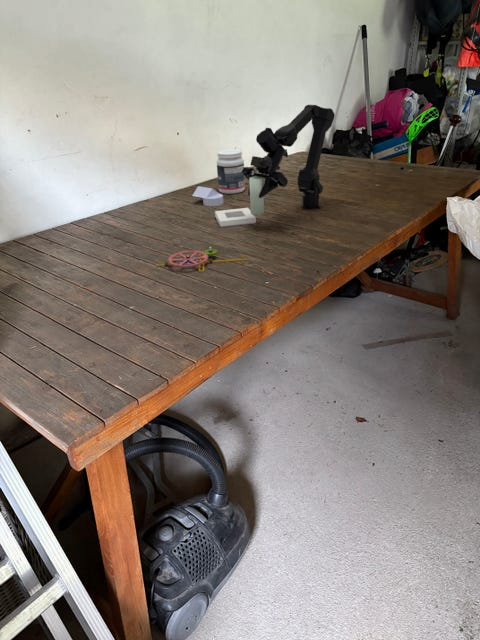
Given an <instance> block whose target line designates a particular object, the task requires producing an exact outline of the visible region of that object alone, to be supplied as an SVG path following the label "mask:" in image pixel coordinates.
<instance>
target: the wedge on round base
mask: <svg viewBox="0 0 480 640" xmlns="http://www.w3.org/2000/svg"><path fill="white" fill-rule="evenodd" d="M192 197H197V198H202V202H203V206H205V207H218V206H222V205H223V204H224V195H223V193H220V192H219V191H217V190H215V189H214V188H212V187H207V186H201V185H200V186H197V187H196V189H195V190H194V192H193V194H192Z"/></svg>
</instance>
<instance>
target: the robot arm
mask: <svg viewBox="0 0 480 640" xmlns="http://www.w3.org/2000/svg"><path fill="white" fill-rule="evenodd" d="M335 117H336V116H335V112H334V110H333V108H329V107H328V108H327V107H322V106H319V105H317V104H307V105H305V106H304V108H303V109H302V110H301V111H300V112H299V113H298V114H297V115H296V117H294V118H293V119H292V120H291V121H290V122H289V124H286V125H283V126H281V127H280V128H278V129H277V130H275V132H274V131H273V130H272V128H271V127H265V128H264V130H262V131H260V132H259V133H258V134H257V135H256V138H255V139H256V140H255V141H256V143H257V144H258V146H260V148H261V149H262V150H263V152H264V153H267V154H266V156H264V157H261V156H256V155H253V156H251V161H250V166H254V167H255V169H256V170H255V169H254V167H249V166H244V168H243V170H242V172H241V173H242V174H243V175H244V177H245V178H246V179H247V180H248V181H249V178H251V177H263V180H264V183H263V188H262V190H261V192H260V194H259V198H262V197H263V196H264V197H265V196H266V195H267V194H268V193H270V192H271V191H273V190H275V189H276V188H279V187H283V188H286V187H287V184H288V183H289V181H288V178H287V176H285V174H284V173H283V172H282V171H281V172H280V171H279V170H280V169H281V167H280V164H281V162H282V160H283V158H284V157H285V158H288V157H289V154H288V149H286V148H284V147H289V148H290V147H292V146H293V145H294V144H295V142H297V139H298V135H299V133H301V131H302V130H303V129H304V128H305V127H306V126H307V125H308V124H309V123H310V122H311V125H312V129H313V133H312V136H311V141H310V145H309V149H308V154H307V159H306V164H305V166H304V168H303V169H300V170H299V171H298V175H297V176H298V177H297V178H296V180H297V188H298V191H299V192H300V193H302V195H301V198H300V200H301V201H300V203H301V204H300V205H301V207H303V208H304V209H305V210H312V209H319V208H321V205H319V204H320V195H321V194H322V193H323V189H324V187H323V185H322V184H321V182H320V174H319V170H318V167H319V163H320V159H321V156H322V150H323V146H324V142H325V137H326V134H327V132H328V131H329V129H331V128H332V125H333V123H334V120H335ZM247 191H248V192H247V196H249V197H250V183H249V184H248V190H247Z"/></svg>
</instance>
